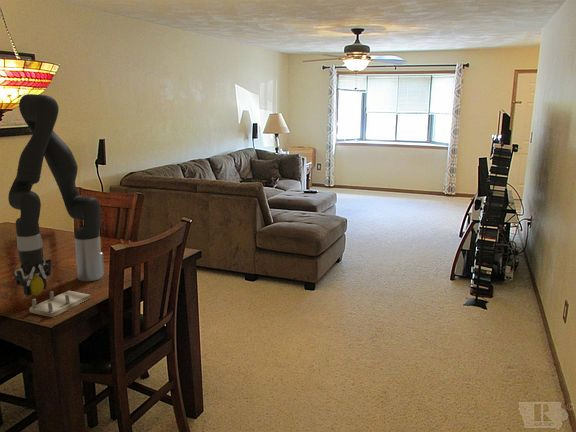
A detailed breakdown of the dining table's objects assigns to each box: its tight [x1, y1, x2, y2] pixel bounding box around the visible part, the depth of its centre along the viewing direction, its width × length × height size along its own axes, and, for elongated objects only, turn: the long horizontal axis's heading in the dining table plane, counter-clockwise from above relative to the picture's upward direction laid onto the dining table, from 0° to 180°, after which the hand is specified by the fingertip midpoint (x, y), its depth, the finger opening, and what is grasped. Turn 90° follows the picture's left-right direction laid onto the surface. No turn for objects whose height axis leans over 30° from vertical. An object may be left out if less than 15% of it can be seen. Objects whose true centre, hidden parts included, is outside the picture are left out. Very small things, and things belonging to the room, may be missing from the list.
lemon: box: [30, 274, 45, 297], centre depth 168 cm, size 6×6×8 cm
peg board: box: [29, 290, 91, 318], centre depth 166 cm, size 17×10×4 cm, turn 159°
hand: (35, 291), depth 169 cm, fingers closed on lemon, 5 cm apart
